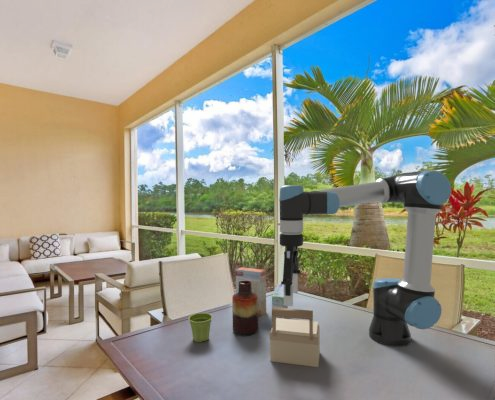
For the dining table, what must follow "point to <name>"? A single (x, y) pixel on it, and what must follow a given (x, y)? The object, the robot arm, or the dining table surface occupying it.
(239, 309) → the vase
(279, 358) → the carton
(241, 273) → the cracker box
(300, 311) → the flap
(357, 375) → the dining table surface
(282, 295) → the snack box
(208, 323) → the plant pot
